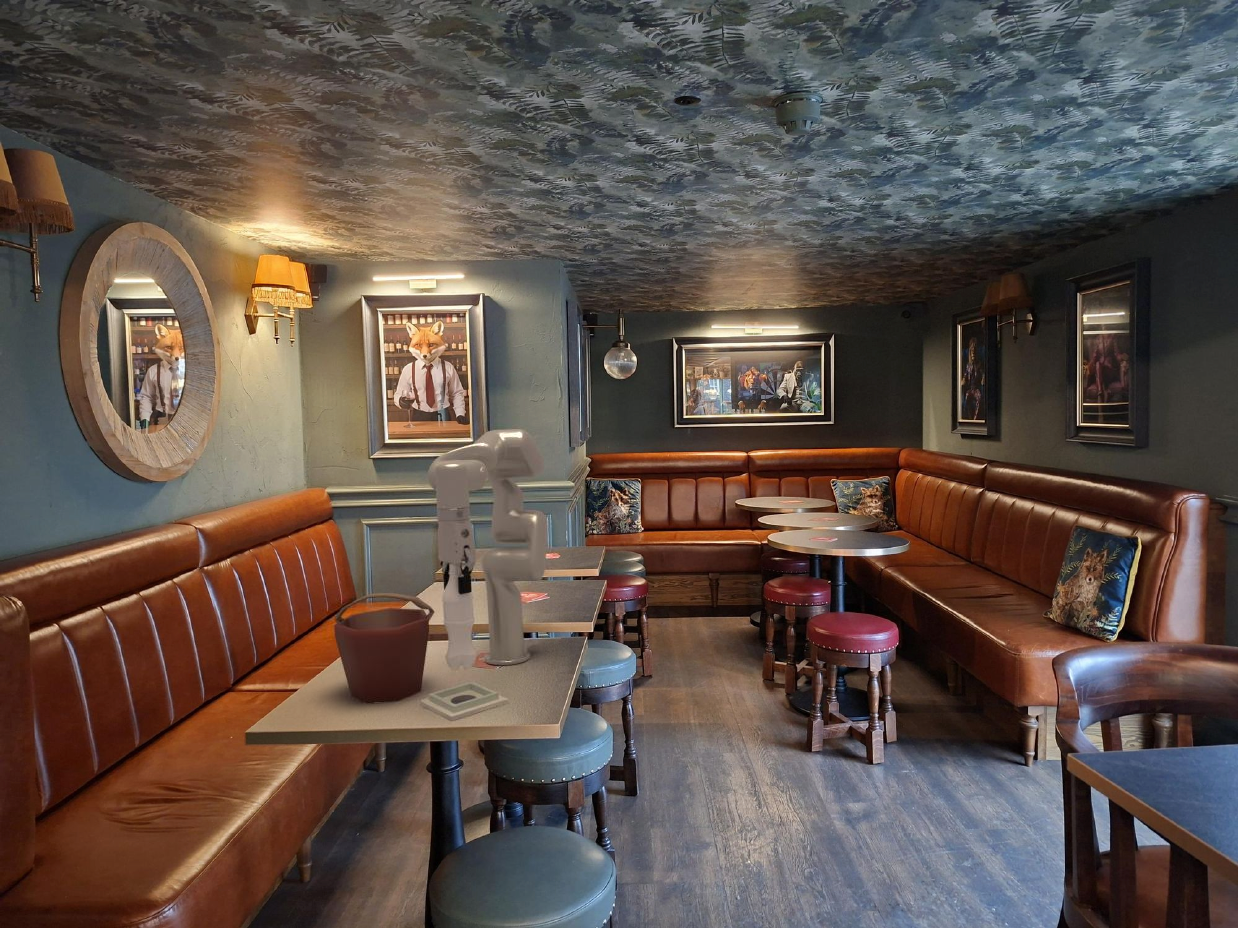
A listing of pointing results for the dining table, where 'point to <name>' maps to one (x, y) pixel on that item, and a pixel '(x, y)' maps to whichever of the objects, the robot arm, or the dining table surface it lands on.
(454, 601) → the water bottle
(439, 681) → the dining table surface
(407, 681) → the bucket
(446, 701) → the plate
